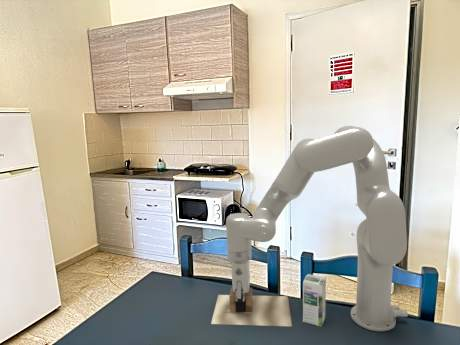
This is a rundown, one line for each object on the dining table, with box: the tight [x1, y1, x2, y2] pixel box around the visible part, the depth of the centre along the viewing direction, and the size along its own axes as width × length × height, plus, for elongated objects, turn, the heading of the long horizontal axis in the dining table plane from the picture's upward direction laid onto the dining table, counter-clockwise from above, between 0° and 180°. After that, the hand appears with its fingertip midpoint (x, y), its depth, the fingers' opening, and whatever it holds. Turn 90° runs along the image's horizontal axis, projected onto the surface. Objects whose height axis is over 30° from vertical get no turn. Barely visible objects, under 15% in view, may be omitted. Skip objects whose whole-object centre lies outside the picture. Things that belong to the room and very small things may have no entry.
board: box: [210, 294, 293, 327], centre depth 103 cm, size 24×16×2 cm, turn 84°
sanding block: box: [228, 286, 253, 314], centre depth 103 cm, size 7×5×6 cm
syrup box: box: [302, 273, 327, 328], centre depth 96 cm, size 6×6×14 cm
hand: (241, 305), depth 103 cm, fingers closed on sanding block, 5 cm apart
